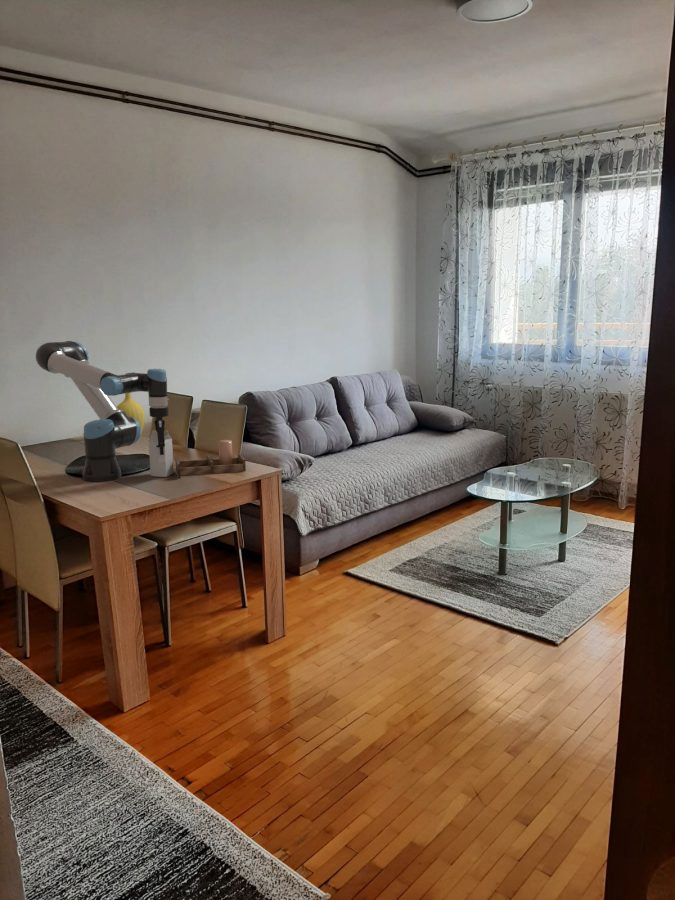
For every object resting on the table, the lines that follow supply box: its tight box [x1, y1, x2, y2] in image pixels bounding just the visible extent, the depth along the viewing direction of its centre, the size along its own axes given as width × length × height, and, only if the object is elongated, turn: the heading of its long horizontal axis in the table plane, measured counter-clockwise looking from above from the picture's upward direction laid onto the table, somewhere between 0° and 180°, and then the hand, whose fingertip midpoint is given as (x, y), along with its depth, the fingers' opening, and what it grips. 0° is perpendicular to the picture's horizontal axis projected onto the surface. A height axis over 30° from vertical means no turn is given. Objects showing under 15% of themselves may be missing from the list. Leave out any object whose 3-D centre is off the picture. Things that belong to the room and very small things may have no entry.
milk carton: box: [148, 429, 175, 478], centre depth 276 cm, size 7×7×19 cm
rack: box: [174, 452, 247, 479], centre depth 283 cm, size 28×14×6 cm, turn 107°
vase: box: [116, 392, 146, 437], centre depth 358 cm, size 16×16×28 cm
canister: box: [218, 439, 233, 465], centre depth 284 cm, size 6×6×12 cm
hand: (161, 459), depth 277 cm, fingers closed on milk carton, 9 cm apart
